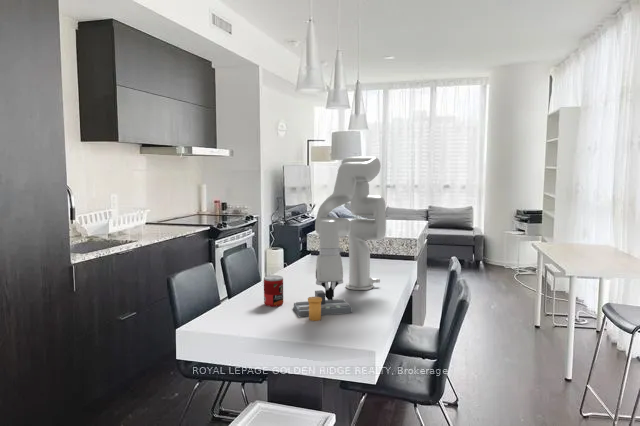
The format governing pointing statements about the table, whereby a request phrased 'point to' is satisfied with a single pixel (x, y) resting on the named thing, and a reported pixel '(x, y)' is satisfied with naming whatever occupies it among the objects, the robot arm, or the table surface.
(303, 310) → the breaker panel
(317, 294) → the knob
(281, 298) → the canned food
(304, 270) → the table surface
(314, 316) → the orange pill bottle
